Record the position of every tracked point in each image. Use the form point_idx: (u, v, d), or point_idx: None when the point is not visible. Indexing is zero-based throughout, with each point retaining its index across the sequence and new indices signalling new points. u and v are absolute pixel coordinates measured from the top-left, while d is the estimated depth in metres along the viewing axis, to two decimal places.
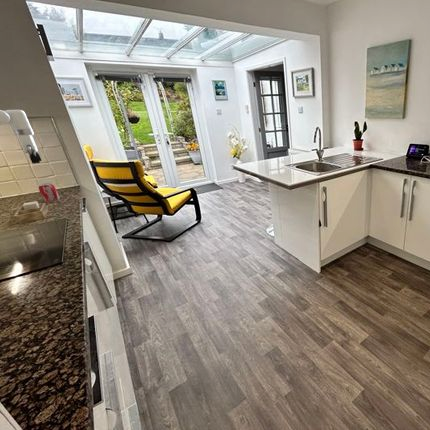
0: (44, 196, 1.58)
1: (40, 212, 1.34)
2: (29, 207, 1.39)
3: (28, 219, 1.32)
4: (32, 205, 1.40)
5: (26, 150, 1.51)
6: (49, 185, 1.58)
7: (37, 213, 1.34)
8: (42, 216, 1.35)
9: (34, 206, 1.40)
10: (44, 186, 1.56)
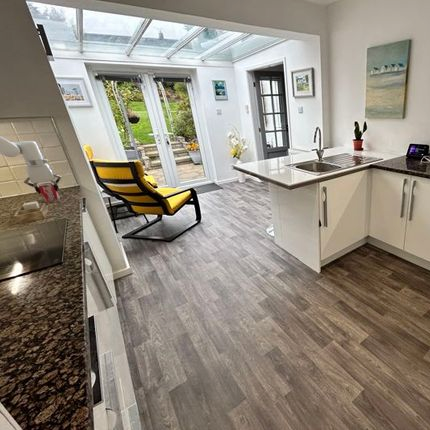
0: (44, 196, 1.58)
1: (40, 212, 1.34)
2: (29, 207, 1.39)
3: (28, 219, 1.32)
4: (32, 205, 1.40)
5: None
6: (49, 185, 1.58)
7: (37, 213, 1.34)
8: (42, 216, 1.35)
9: (34, 206, 1.40)
10: (44, 186, 1.56)
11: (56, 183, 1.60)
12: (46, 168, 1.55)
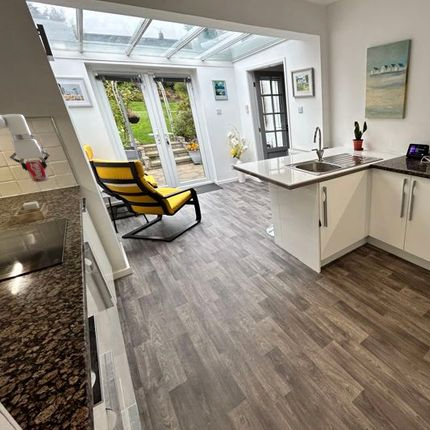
0: (31, 173, 1.50)
1: (40, 212, 1.34)
2: (29, 207, 1.39)
3: (28, 219, 1.32)
4: (32, 205, 1.40)
5: None
6: (37, 162, 1.51)
7: (37, 213, 1.34)
8: (42, 216, 1.35)
9: (34, 206, 1.40)
10: (31, 162, 1.49)
11: (44, 160, 1.54)
12: (34, 144, 1.48)
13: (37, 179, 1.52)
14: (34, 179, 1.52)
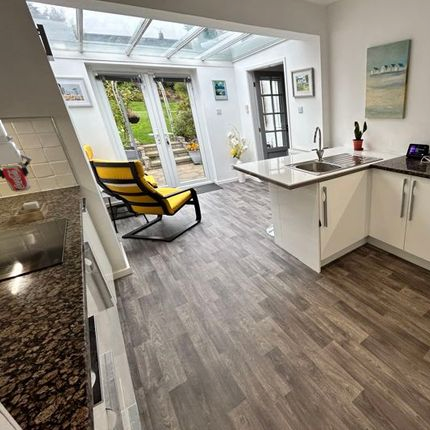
0: (9, 182, 1.28)
1: (40, 212, 1.34)
2: (29, 207, 1.39)
3: (28, 219, 1.32)
4: (32, 205, 1.40)
5: None
6: (16, 168, 1.29)
7: (37, 213, 1.34)
8: (42, 216, 1.35)
9: (34, 206, 1.40)
10: (9, 169, 1.27)
11: (25, 166, 1.31)
12: (11, 147, 1.26)
13: (17, 188, 1.30)
14: (13, 188, 1.30)
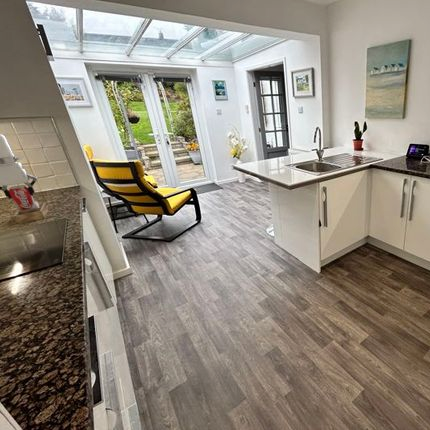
0: (16, 201, 1.29)
1: (40, 212, 1.34)
2: None
3: (28, 219, 1.32)
4: None
5: None
6: (22, 188, 1.30)
7: (37, 213, 1.34)
8: (42, 216, 1.35)
9: None
10: (16, 189, 1.28)
11: (31, 186, 1.32)
12: (18, 167, 1.27)
13: (23, 208, 1.31)
14: (20, 208, 1.31)
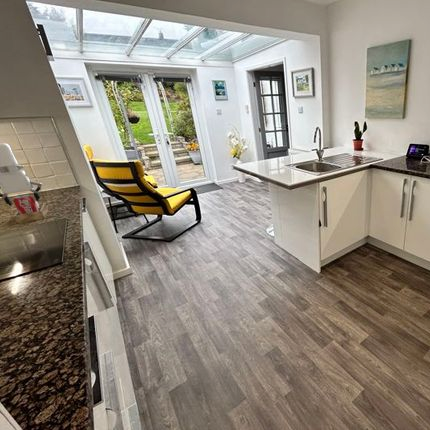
0: (20, 210, 1.31)
1: (40, 212, 1.34)
2: None
3: (28, 219, 1.32)
4: None
5: None
6: (26, 197, 1.32)
7: (37, 213, 1.34)
8: (42, 216, 1.35)
9: None
10: (20, 199, 1.30)
11: (36, 192, 1.34)
12: (22, 176, 1.29)
13: None
14: None
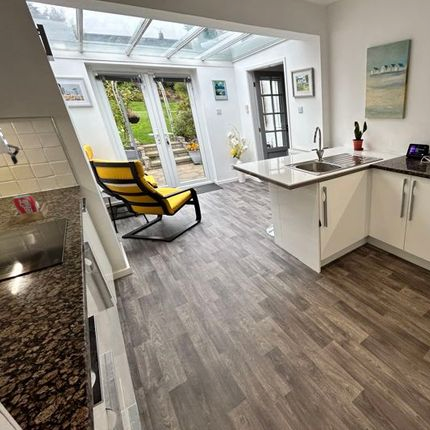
0: (20, 210, 1.31)
1: (40, 212, 1.34)
2: None
3: (28, 219, 1.32)
4: None
5: None
6: (26, 197, 1.32)
7: (37, 213, 1.34)
8: (42, 216, 1.35)
9: None
10: (20, 199, 1.30)
11: (14, 155, 1.34)
12: None
13: None
14: None
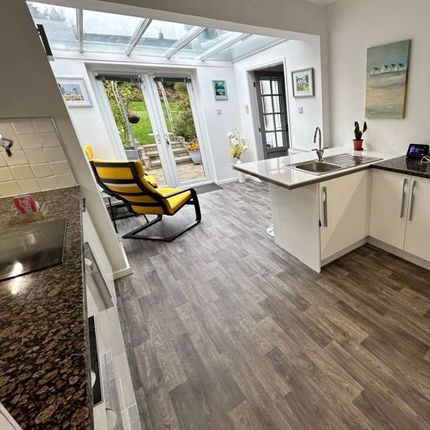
0: (20, 210, 1.31)
1: (40, 212, 1.34)
2: None
3: (28, 219, 1.32)
4: None
5: None
6: (26, 197, 1.32)
7: (37, 213, 1.34)
8: (42, 216, 1.35)
9: None
10: (20, 199, 1.30)
11: (8, 148, 1.39)
12: None
13: None
14: None
